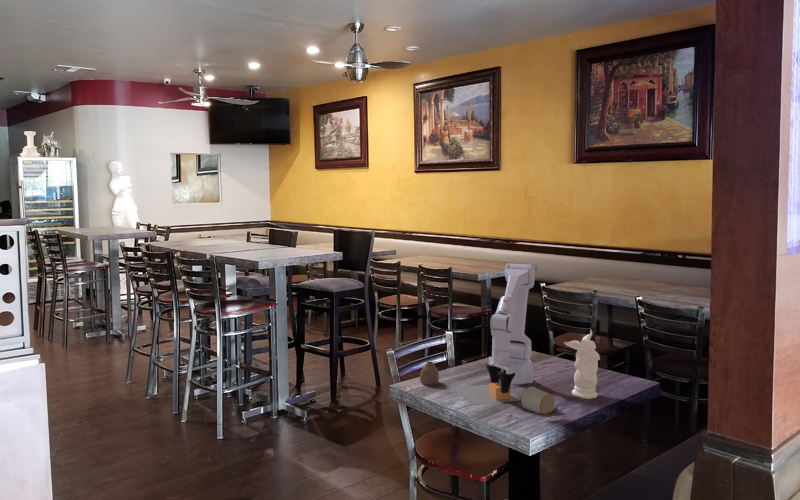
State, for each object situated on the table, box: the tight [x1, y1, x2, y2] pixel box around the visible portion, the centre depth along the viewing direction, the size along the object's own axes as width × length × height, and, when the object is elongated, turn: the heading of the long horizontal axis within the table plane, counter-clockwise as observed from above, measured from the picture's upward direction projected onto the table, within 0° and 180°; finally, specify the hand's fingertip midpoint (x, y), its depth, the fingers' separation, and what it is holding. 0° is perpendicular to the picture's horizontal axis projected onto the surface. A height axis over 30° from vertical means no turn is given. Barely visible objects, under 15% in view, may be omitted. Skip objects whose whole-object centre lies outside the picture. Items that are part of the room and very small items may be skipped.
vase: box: [419, 361, 440, 387], centre depth 221 cm, size 7×7×9 cm
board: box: [452, 384, 522, 406], centre depth 211 cm, size 18×18×1 cm
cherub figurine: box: [563, 329, 601, 400], centre depth 214 cm, size 12×12×22 cm
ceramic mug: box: [520, 386, 557, 415], centre depth 197 cm, size 11×8×8 cm
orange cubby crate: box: [488, 381, 512, 400], centre depth 207 cm, size 5×5×4 cm
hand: (499, 389), depth 207 cm, fingers open, 7 cm apart
